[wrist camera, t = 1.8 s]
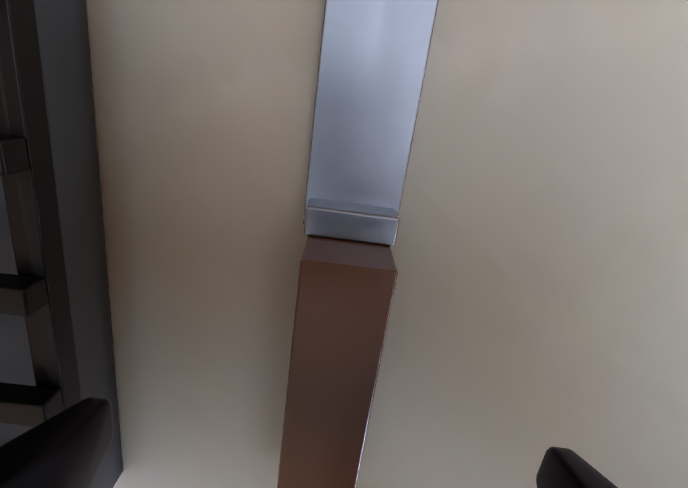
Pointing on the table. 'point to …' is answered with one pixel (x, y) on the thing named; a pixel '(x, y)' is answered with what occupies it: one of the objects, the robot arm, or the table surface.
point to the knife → (351, 231)
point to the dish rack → (51, 225)
